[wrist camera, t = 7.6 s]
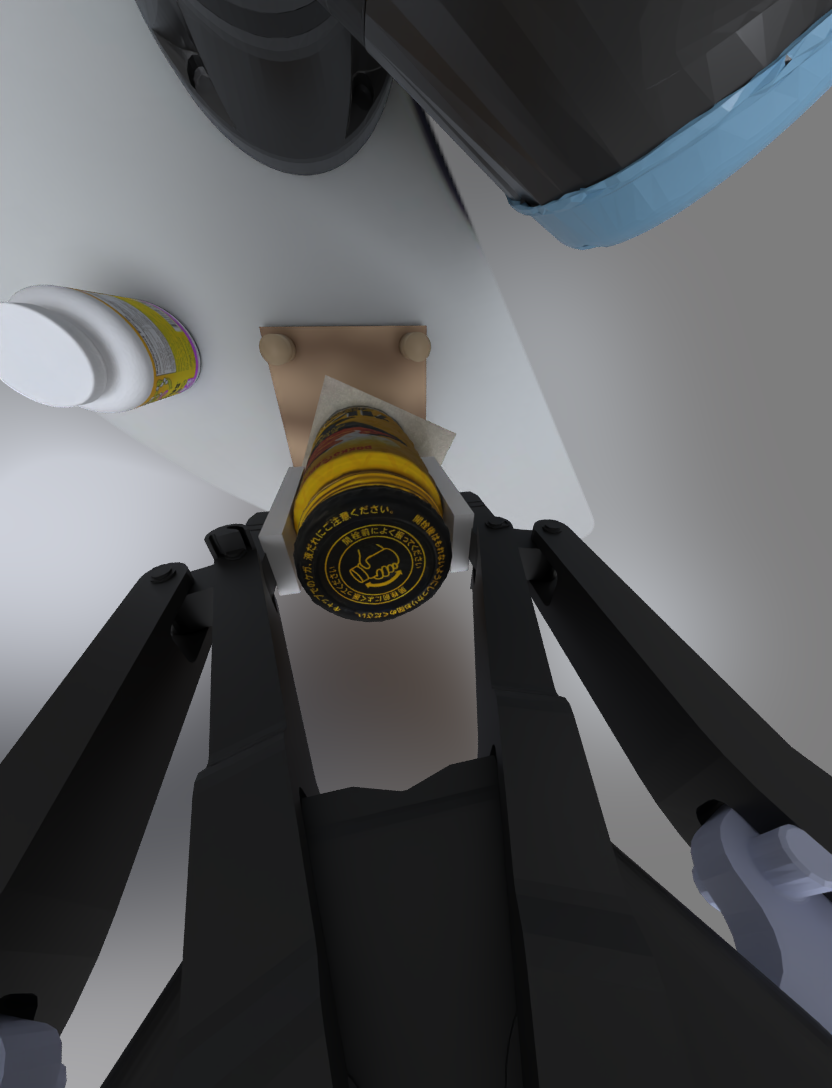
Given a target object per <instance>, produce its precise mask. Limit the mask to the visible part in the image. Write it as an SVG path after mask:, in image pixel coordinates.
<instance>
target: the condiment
mask: <svg viewBox="0 0 832 1088" xmlns="http://www.w3.org/2000/svg"><path fill="white" fill-rule="evenodd" d="M455 435H456V433H454V432H451V431H449V430H447V429H444V428H442V427H440V426H438V425H436V424H433V423H431V422H429V421H427V420H424V419H422V418H420V417H418V416H416V415H413V414H411V413H409V412H407V411H405V410H403V409H400V408H398V407H396V406H394V405H392V404H389V403H387V402H385V401H383V400H381V399H378V398H376V397H374V396H372V395H369V394H367V393H365V392H363V391H361V390H358V389H356V388H354V387H351V386H349V385H347V384H345V383H343V382H341V381H338V380H336V379H334V378H331V377H329V376H327V375H325V378H324V382H323V386H322V390H321V394H320V397H319V402H318V406H317V410H316V413H315V417H314V421H313V425H312V429H311V433H310V437H309V441H308V445H307V448H306V452H305V456H304V460H303V464H302V466H304V467H305V472H304V475H303V478H302V481H301V484H300V488H299V491H298V494H297V496H296V498H295V502H294V508H293V509H294V515H293V521H294V528H295V532H296V535H297V538H296V541H295V543H294V553H293V557H294V564H295V567H296V573H297V577H298V579H299V581H300V583H301V585H302V587H303V588H304V589H305V591H306V593H307V594H308V595H309V596H310V597H311V599H312V601H313V602H314V603H315V604H317V605H319V606H321V607H322V608H324V609H325V610H327V611H329V612H331V613H333V614H335V615H337V616H340V617H343V618H345V619H350V620H357V621H363V622H379V621H380V622H382V621H385V620H390V619H394V618H396V617H398V616H401V615H403V614H405V613H407V612H410V611H412V610H414V609H415V608H417V607H419V606H420V605H421V604H423V603H424V602H426V601H427V600H429V599H430V598H432V597H433V595H434V594H435V593H436V592H437V590H438V589H439V588H440V587H441V585H442V583H443V581H444V580H445V579H446V577H447V574H448V572H449V569H450V566H451V561H452V547H451V541H450V532H449V528H448V527H447V526H446V525H445V523H444V520H443V509H442V504H441V499H440V496H439V493H438V491H437V489H436V484H435V481H434V479H433V478H432V476H431V475H430V474H429V473H428V469H427V467H426V466H425V464H424V462H423V461H422V459H421V458H420V457H432V456H434V457H435V459H436V460H437V462H438V463H439V464H440V466H441V464H442V462H443V460H444V458H445V455H446V453H447V451H448V450H449V448H450V446H451V444H452V442H453V440H454V437H455Z"/></svg>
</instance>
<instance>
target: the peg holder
mask: <svg viewBox="0 0 832 1088" xmlns="http://www.w3.org/2000/svg"><path fill="white" fill-rule="evenodd" d="M259 328H260V332H261V336H262V338H261V340H260V343H259V349H260V353H261V355H262V357H263V358H264V359H265V360H266V361H267V362H268V364H269V368H270V373H271V377H272V381H273V385H274V389H275V393H276V397H277V401H278V405H279V409H280V413H281V417H282V421H283V425H284V429H285V433H286V437H287V441H288V445H289V450H290V454H291V458H292V462H293V466H294V467H302V464H303V460H304V456H305V452H306V448H307V445H308V441H309V437H310V433H311V429H312V425H313V421H314V417H315V413H316V410H317V406H318V402H319V397H320V394H321V390H322V386H323V382H324V378H325V375H327V376H329V377H331V378H334V379H336V380H338V381H341V382H343V383H345V384H347V385H349V386H351V387H354V388H356V389H358V390H361V391H363V392H365V393H367V394H369V395H372V396H374V397H376V398H378V399H381V400H383V401H385V402H387V403H389V404H392V405H394V406H396V407H398V408H400V409H403V410H405V411H407V412H409V413H411V414H413V415H416V416H418V417H420V418H422V419H424V420H426V358H427V357H428V356H429V354H430V350H431V344H430V340H429V338H428V337H427V336H426V332H427V326H314V327H259Z"/></svg>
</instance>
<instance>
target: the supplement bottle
mask: <svg viewBox="0 0 832 1088" xmlns="http://www.w3.org/2000/svg"><path fill="white" fill-rule="evenodd" d="M199 372H200V356H199V352H198V349H197V347H196V345H195V342H194V341H193V339H192V337H191V335H190V334H189V332H188V331H187V330H186V328H185V327H184V326H183V325H182V324H181V323H180V322H179V321H178V320H177V319H176V318H175V317H174V316H172V315H171V314H170V313H168V312H167V311H165V310H164V309H162V308H160V307H158V306H156V305H154V304H151V303H149V302H145V301H141V300H136V299H131V298H125V297H119V296H113V295H107V294H101V293H95V292H90V291H84V290H78V289H73V288H67V287H60V286H54V285H35V286H30V287H26V288H24V289H22V290H20V291H18V292H16V293H15V294H14V295H13V296H12V297H11V298H10V299H9V300H8V302H0V380H2V381H3V382H4V383H5V384H6V385H8V386H9V387H10V388H12V389H13V390H15V391H16V392H18V393H20V394H21V395H23V396H25V397H27V398H29V399H31V400H33V401H36V402H38V403H41V404H45V405H49V406H54V407H62V408H63V407H64V408H65V407H75V406H78V407H81V408H84V409H87V410H91V411H95V412H102V413H119V412H125V411H128V410H132V409H135V408H138V407H140V406H143V405H146V404H149V403H152V402H155V401H158V400H161V399H164V398H167V397H170V396H172V395H175V394H178V393H181V392H183V391H185V390H187V389H189V388H190V387H191V386H192V385H193V384H194V383H195V382H196V380H197V378H198V376H199Z"/></svg>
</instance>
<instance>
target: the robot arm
mask: <svg viewBox="0 0 832 1088" xmlns="http://www.w3.org/2000/svg"><path fill="white" fill-rule="evenodd" d="M135 2H136V4H137V6H138V8H139V10H140V12H141V14H142V16H143V18H144V20H145V22H146V24H147V26H148V28H149V30H150V31H151V33H152V35H153V37H154V39H155V40H156V42H157V44H158V46H159V47H160V49H161V51H162V52H163V54H164V56H165V57H166V59H167V60H168V62H169V63H170V65H171V66H172V68H173V69H174V71H175V73H176V74H177V76H178V77H179V79H180V80H181V82H182V83H183V85H184V86H185V88H186V90H187V91H188V92H189V94H190V95H191V97H192V98H193V99H194V101H195V102H196V103H197V105H198V106H199V107H200V109H201V110H202V111H203V112H204V114H205V115H206V116H207V117H208V118H209V119H210V121H211V122H212V123H213V124H214V125H215V126H216V127H217V128H218V129H219V130H220V131H221V132H222V133H223V134H224V135H225V136H226V137H227V138H228V139H229V140H230V141H231V142H232V143H234V144H235V145H236V146H237V147H239V148H240V149H241V150H242V151H244V152H245V153H247V154H248V155H249V156H251V157H253V158H254V159H256V160H257V161H259V162H261V163H263V164H265V165H267V166H269V167H271V168H274V169H276V170H279V171H282V172H286V173H291V174H298V175H312V174H319V173H324V172H327V171H329V170H332V169H334V168H336V167H338V166H340V165H342V164H343V163H345V162H346V161H347V160H349V159H350V158H351V157H352V156H353V155H354V154H355V153H356V152H358V150H359V149H360V148H361V147H362V146H363V145H364V143H365V142H366V141H367V139H368V138H369V136H370V135H371V133H372V131H373V130H374V128H375V126H376V124H377V122H378V120H379V118H380V116H381V113H382V111H383V109H384V106H385V103H386V100H387V97H388V94H389V91H390V87H391V83H392V79H393V78H394V79H395V80H396V81H397V82H398V83H399V84H400V85H401V86H402V87H403V88H404V89H405V90H406V91H407V92H408V93H409V94H410V95H411V96H412V98H413V99H414V100H415V101H416V102H417V103H418V104H419V105H420V106H421V107H422V108H423V109H424V110H425V111H426V112H427V113H428V114H429V115H430V116H431V117H432V118H433V119H434V120H435V121H436V122H437V123H438V124H439V125H440V127H441V128H442V129H443V130H444V131H445V132H446V133H447V134H448V135H449V136H450V137H451V138H452V139H453V140H454V141H455V142H456V143H457V144H458V145H459V146H460V147H461V148H462V149H463V150H464V151H465V152H466V153H467V154H468V155H469V157H470V158H471V159H472V160H473V161H474V162H475V163H476V164H477V165H478V166H479V167H480V168H481V169H482V170H483V171H484V172H485V173H486V174H487V175H488V176H489V177H490V178H491V179H492V180H493V181H494V182H495V184H497V186H498V187H499V188H500V189H501V190H502V191H503V192H504V193H505V195H506V197H507V199H508V202H509V204H510V205H511V206H512V208H514V209H515V210H516V211H518V212H519V213H522V214H524V215H530V216H532V217H533V218H534V219H535V220H536V221H537V222H538V223H540V224H541V225H542V226H543V227H544V228H545V229H546V230H547V231H548V232H550V233H551V234H552V235H553V236H554V237H555V238H556V239H557V240H559V241H560V242H561V243H563V244H564V245H566V246H569V247H571V248H575V249H580V250H585V249H591V248H595V247H601V246H602V247H609V246H613V245H616V244H619V243H622V242H624V241H627V240H629V239H631V238H634V237H636V236H638V235H640V234H642V233H644V232H646V231H648V230H650V229H652V228H654V227H656V226H658V225H659V224H661V223H663V222H664V221H666V220H668V219H669V218H671V217H673V216H674V215H676V214H677V213H679V212H681V211H682V210H684V209H685V208H687V207H688V206H690V205H691V204H692V203H694V202H695V201H697V200H698V199H699V198H701V197H702V196H704V195H705V194H707V193H708V192H709V191H711V190H712V189H714V188H715V187H716V186H717V185H719V184H720V183H722V182H723V181H724V180H726V179H727V178H728V177H729V176H731V175H732V174H733V173H734V172H736V171H737V170H738V169H740V168H741V167H742V166H743V165H744V164H746V163H747V162H748V161H749V160H750V159H752V158H753V157H754V156H756V155H757V154H758V153H759V152H760V151H762V149H764V148H765V147H766V146H767V145H768V144H769V143H771V142H772V141H773V140H774V139H775V138H777V137H778V136H779V135H780V134H781V133H782V132H783V131H784V130H785V129H787V128H788V127H789V126H790V125H791V124H792V123H793V122H795V121H796V120H797V119H798V118H799V117H800V116H801V115H802V114H803V113H804V112H805V111H806V110H807V109H808V108H809V107H810V106H811V105H813V104H814V103H815V102H816V101H817V100H818V99H819V98H820V97H821V96H822V95H823V94H824V93H825V92H826V91H827V90H828V89H829V88H830V87H831V86H832V0H135ZM420 458H421V459H422V461H423V462H424V464H425V466H426V467H427V469H428V473H429V474H430V475H431V476H432V478H433V479H434V481H435V484H436V489H437V491H438V493H439V496H440V499H441V504H442V509H443V520H444V523H445V525H446V526H447V527H448V528H449V532H450V541H451V547H452V561H451V566H450V569H449V570H450V572H451V573H452V572H460V571H467V570H468V566H469V560H470V562H471V563H472V565H473V570H472V579H471V587H470V589H472V592H473V618H474V643H475V669H476V697H477V723H478V758H477V759H473V760H469V761H465V762H461V763H456V764H452V765H449V766H447V767H445V768H444V769H442V770H440V771H439V772H437V773H435V774H434V775H432V776H430V777H428V778H427V779H425V780H424V781H422V782H420V783H418V784H417V785H415V786H413V787H412V788H410V789H408V790H405V791H392V790H381V789H369V788H360V787H350V788H345V789H341V790H336V791H332V792H328V793H323V794H320V792H319V789H318V786H317V783H316V779H315V775H314V771H313V766H312V762H311V757H310V752H309V748H308V743H307V738H306V733H305V729H304V724H303V720H302V715H301V711H300V706H299V701H298V696H297V692H296V687H295V682H294V678H293V673H292V669H291V664H290V659H289V655H288V650H287V645H286V641H285V637H284V632H283V627H282V622H281V618H280V613H279V608H278V604H277V600H276V598H275V595H274V591H275V587H276V586H277V588H278V591H279V594H280V595H287V594H295V593H300V592H301V587H302V585H301V583H300V581H299V579H298V577H297V573H296V567H295V564H294V557H293V553H294V543H295V541H296V538H297V535H296V532H295V528H294V521H293V515H294V509H293V508H294V502H295V498H296V496H297V494H298V491H299V488H300V484H301V481H302V478H303V475H304V472H305V467H304V466H302V467H289V469H288V471H287V473H286V475H285V478H284V480H283V482H282V484H281V487H280V489H279V491H278V493H277V496H276V498H275V500H274V502H273V504H272V507H271V509H270V511H269V512H259V513H256V514H255V515H253V516H252V517H251V518H250V519H249V520H248V521H247V523H246V525H243V524H231V525H225V526H222V527H219V528H217V529H215V530H213V531H211V532H210V533H208V534H207V535H206V537H205V539H204V540H205V542H206V544H207V546H208V548H209V550H210V552H211V554H212V556H213V558H214V565H211V566H208V567H205V568H201V569H198V570H194V571H191V572H190V571H189V569H188V567H187V566H186V565H185V564H183V563H180V562H179V563H168V564H163V565H160V566H158V567H155V568H153V569H152V570H150V571H148V572H147V573H145V574H144V575H143V576H142V577H141V578H140V579H139V580H138V581H137V583H136V584H135V585H134V587H133V588H132V589H131V591H130V592H129V593H128V595H127V596H126V597H125V599H124V600H123V601H122V603H121V604H120V606H119V607H118V608H117V609H116V611H115V612H114V613H113V615H112V616H111V617H110V619H109V620H108V621H107V623H106V624H105V625H104V627H103V628H102V629H101V631H100V632H99V633H98V635H97V636H96V637H95V639H94V640H93V641H92V643H91V644H90V645H89V647H88V648H87V649H86V651H85V652H84V653H83V655H82V656H81V657H80V659H79V660H78V661H77V662H76V664H75V665H74V666H73V668H72V669H71V670H70V672H69V673H68V675H67V676H66V677H65V678H64V680H63V681H62V683H61V684H60V685H59V686H58V688H57V689H56V691H55V692H54V693H53V695H52V696H51V697H50V698H49V700H48V701H47V702H46V704H45V705H44V706H43V708H42V709H41V710H40V712H39V713H38V714H37V716H36V717H35V718H34V720H33V721H32V722H31V724H30V725H29V726H28V728H27V729H26V730H25V732H24V733H23V735H22V736H21V737H20V738H19V740H18V741H17V742H16V744H15V745H14V746H13V748H12V749H11V750H10V752H9V753H8V754H7V756H6V757H5V758H4V760H3V761H2V762H1V764H0V1088H65V1085H66V1081H67V1080H66V1066H64V1065H63V1064H62V1063H61V1059H62V1057H61V1056H62V1042H61V1039H60V1035H61V1033H62V1031H63V1029H64V1027H65V1026H66V1024H67V1022H68V1020H69V1018H70V1016H71V1014H72V1012H73V1010H74V1008H75V1006H76V1004H77V1002H78V999H79V997H80V995H81V993H82V991H83V989H84V986H85V984H86V982H87V980H88V978H89V976H90V974H91V972H92V969H93V967H94V965H95V963H96V961H97V958H98V956H99V954H100V951H101V949H102V946H103V944H104V941H105V939H106V936H107V934H108V931H109V928H110V926H111V923H112V921H113V918H114V916H115V913H116V911H117V908H118V905H119V902H120V899H121V896H122V894H123V891H124V888H125V886H126V883H127V880H128V877H129V874H130V871H131V869H132V866H133V863H134V860H135V857H136V855H137V852H138V849H139V846H140V843H141V841H142V838H143V835H144V832H145V829H146V826H147V824H148V821H149V818H150V816H151V812H152V810H153V807H154V804H155V801H156V799H157V796H158V793H159V790H160V788H161V785H162V782H163V779H164V776H165V773H166V770H167V768H168V765H169V762H170V760H171V757H172V754H173V751H174V748H175V745H176V743H177V740H178V737H179V734H180V732H181V729H182V726H183V723H184V720H185V718H186V715H187V712H188V709H189V706H190V704H191V701H192V698H193V695H194V692H195V690H196V687H197V684H198V681H199V678H200V675H201V673H202V670H203V667H204V664H205V661H206V659H207V656H208V653H209V650H210V648H211V645H212V661H211V662H212V663H211V700H210V736H209V737H210V739H209V760H208V764H207V767H206V768H205V769H204V770H202V771H201V772H199V773H198V775H197V778H196V780H195V783H194V791H193V798H192V814H191V830H190V847H189V864H188V881H187V897H186V913H185V930H184V931H185V932H184V946H183V961H182V962H181V964H180V966H179V967H178V968H177V970H176V972H175V973H174V975H173V976H172V978H171V979H170V981H169V982H168V984H167V985H166V987H165V988H164V990H163V992H162V993H161V995H160V996H159V998H158V999H157V1001H156V1002H155V1004H154V1005H153V1007H152V1008H151V1010H150V1012H149V1013H148V1015H147V1016H146V1018H145V1019H144V1021H143V1022H142V1024H141V1025H140V1027H139V1029H138V1030H137V1032H136V1033H135V1035H134V1036H133V1038H132V1039H131V1041H130V1042H129V1044H128V1045H127V1047H126V1048H125V1050H124V1052H123V1053H122V1055H121V1056H120V1058H119V1059H118V1061H117V1062H116V1064H115V1065H114V1067H113V1069H112V1070H111V1072H110V1073H109V1075H108V1076H107V1078H106V1079H105V1081H104V1082H103V1084H102V1085H101V1087H100V1088H832V777H831V776H830V775H829V774H828V773H826V772H825V771H823V770H822V769H821V768H819V767H818V766H816V765H815V764H814V763H813V762H811V761H810V760H808V759H807V758H806V757H804V756H803V755H802V754H800V753H799V752H798V751H796V750H795V749H793V748H792V747H791V746H790V745H789V744H788V743H787V742H786V741H785V740H783V738H782V737H781V736H780V735H779V734H778V733H777V732H776V731H775V730H773V728H771V726H770V725H769V724H767V722H766V721H764V720H763V719H762V718H761V717H760V716H759V715H758V714H757V713H756V712H755V711H754V710H753V709H752V708H751V707H750V706H749V705H748V704H747V703H746V702H745V701H744V700H743V699H742V698H741V697H740V696H739V695H738V694H737V693H736V692H735V691H734V690H733V689H732V688H731V687H730V686H729V685H728V684H727V683H726V682H725V681H724V680H723V679H722V678H721V677H720V676H719V675H718V674H717V673H716V672H715V671H714V670H713V669H712V668H711V667H710V666H709V665H708V664H707V663H706V662H705V661H704V660H703V659H702V658H700V656H699V655H697V653H695V651H694V650H693V649H692V648H691V647H689V646H688V645H687V644H686V643H685V642H684V641H683V640H682V639H681V638H680V637H679V636H678V635H677V634H676V633H675V632H674V631H673V630H672V629H671V628H670V627H669V626H668V625H667V624H666V623H665V622H664V621H663V620H662V619H661V618H660V617H659V616H658V615H657V614H656V613H655V612H654V611H653V610H652V609H651V608H650V607H649V606H648V605H647V604H646V603H645V602H644V601H643V600H642V599H641V598H640V597H639V596H638V595H637V594H636V593H635V592H634V591H633V590H632V589H631V588H630V587H629V586H628V585H627V584H625V583H624V581H623V580H622V579H621V578H620V577H618V575H617V574H616V573H614V572H613V571H612V570H611V569H610V568H609V567H608V566H607V565H606V564H605V563H604V562H603V561H602V560H601V559H600V558H599V557H598V556H597V555H596V554H595V553H594V552H593V551H592V550H591V549H590V548H589V547H588V546H587V545H586V544H585V543H584V542H583V541H582V540H581V539H580V538H579V537H578V536H577V535H576V534H575V533H574V532H573V531H572V530H571V529H570V528H569V527H568V526H566V525H565V524H563V523H561V522H558V521H556V520H550V519H549V520H539V521H537V522H535V523H534V526H533V530H520V529H513V526H512V524H511V522H509V521H508V520H506V519H504V518H501V517H495V516H494V515H493V514H492V513H491V511H490V510H489V509H488V508H487V506H485V504H484V503H483V502H482V500H481V499H480V498H479V497H478V495H476V494H474V493H472V492H459V491H458V490H457V489H456V487H455V486H454V484H453V483H452V481H451V480H450V479H449V477H448V476H447V474H446V473H445V472H444V470H443V469H442V467H441V466H440V464H439V463H438V462H437V460H436V459H435V457H434V456H432V457H420ZM531 597H532V599H533V601H534V602H535V604H536V606H537V607H538V609H539V611H540V612H541V614H542V616H543V617H544V619H545V621H546V622H547V624H548V626H549V627H550V629H551V631H552V632H553V634H554V636H555V637H556V639H557V641H558V642H559V644H560V646H561V647H562V649H563V650H564V652H565V654H566V656H567V657H568V659H569V660H570V662H571V664H572V666H573V667H574V669H575V670H576V672H577V674H578V676H579V677H580V679H581V681H582V682H583V684H584V686H585V687H586V689H587V691H588V692H589V694H590V696H591V697H592V699H593V701H594V702H595V704H596V705H597V707H598V709H599V711H600V712H601V714H602V715H603V717H604V719H605V721H606V722H607V724H608V726H609V727H610V729H611V731H612V732H613V734H614V736H615V737H616V739H617V741H618V742H619V744H620V746H621V747H622V749H623V750H624V752H625V754H626V756H627V757H628V759H629V760H630V762H631V764H632V766H633V767H634V769H635V771H636V772H637V774H638V776H639V777H640V779H641V780H642V782H643V783H644V785H645V786H646V788H647V790H648V791H649V793H650V794H651V796H652V797H653V799H654V800H655V802H656V803H657V805H658V806H659V808H660V809H661V810H662V812H663V813H664V814H665V816H666V817H667V818H668V820H669V821H670V822H671V823H672V825H673V826H674V828H675V829H676V830H677V832H678V833H679V834H680V835H681V837H682V838H683V839H684V840H685V841H686V842H687V844H688V845H689V846H690V847H691V855H692V860H693V864H694V867H693V869H692V873H693V879H694V882H695V884H696V886H697V888H698V890H699V892H700V894H701V895H702V896H703V897H704V898H705V900H706V901H707V902H708V903H709V904H710V905H712V906H713V907H714V908H716V909H717V910H718V911H720V912H721V913H722V914H723V916H724V918H725V920H726V922H727V924H728V927H729V929H730V931H731V933H732V935H733V938H734V942H735V946H736V949H737V951H736V950H735V949H734V948H733V947H732V946H730V945H729V944H728V943H727V942H726V941H725V940H724V939H722V938H721V937H720V936H719V935H718V934H717V933H716V932H714V931H713V930H712V929H711V928H710V927H709V926H707V925H706V924H705V923H704V922H703V921H702V920H701V919H699V918H698V917H697V916H696V915H694V914H693V913H692V912H691V911H690V910H689V909H688V908H687V907H686V906H684V905H683V904H682V903H681V902H680V901H679V900H678V899H676V898H675V897H674V896H673V895H672V894H671V893H669V892H668V891H667V890H666V889H665V888H664V887H663V886H661V885H660V884H659V883H658V882H657V881H655V880H654V879H653V878H652V877H651V876H650V875H649V874H647V873H646V872H645V871H644V870H643V869H642V868H641V867H639V866H638V865H637V864H636V863H635V862H634V861H633V860H631V859H630V858H629V857H628V856H627V855H625V854H624V853H623V852H622V851H621V850H620V849H619V848H618V847H616V846H615V845H614V844H613V843H612V842H611V841H610V838H609V834H608V831H607V828H606V824H605V821H604V817H603V814H602V810H601V807H600V804H599V800H598V797H597V793H596V790H595V786H594V783H593V779H592V776H591V773H590V769H589V766H588V762H587V759H586V755H585V752H584V749H583V745H582V742H581V738H580V735H579V731H578V728H577V724H576V721H575V718H574V714H573V712H572V709H571V706H570V704H569V702H568V701H567V700H566V698H564V697H561V696H558V694H557V693H556V690H555V688H554V683H553V680H552V676H551V672H550V668H549V664H548V661H547V657H546V653H545V649H544V645H543V641H542V637H541V633H540V630H539V626H538V622H537V618H536V614H535V610H534V606H533V603H532V599H531Z"/></svg>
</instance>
